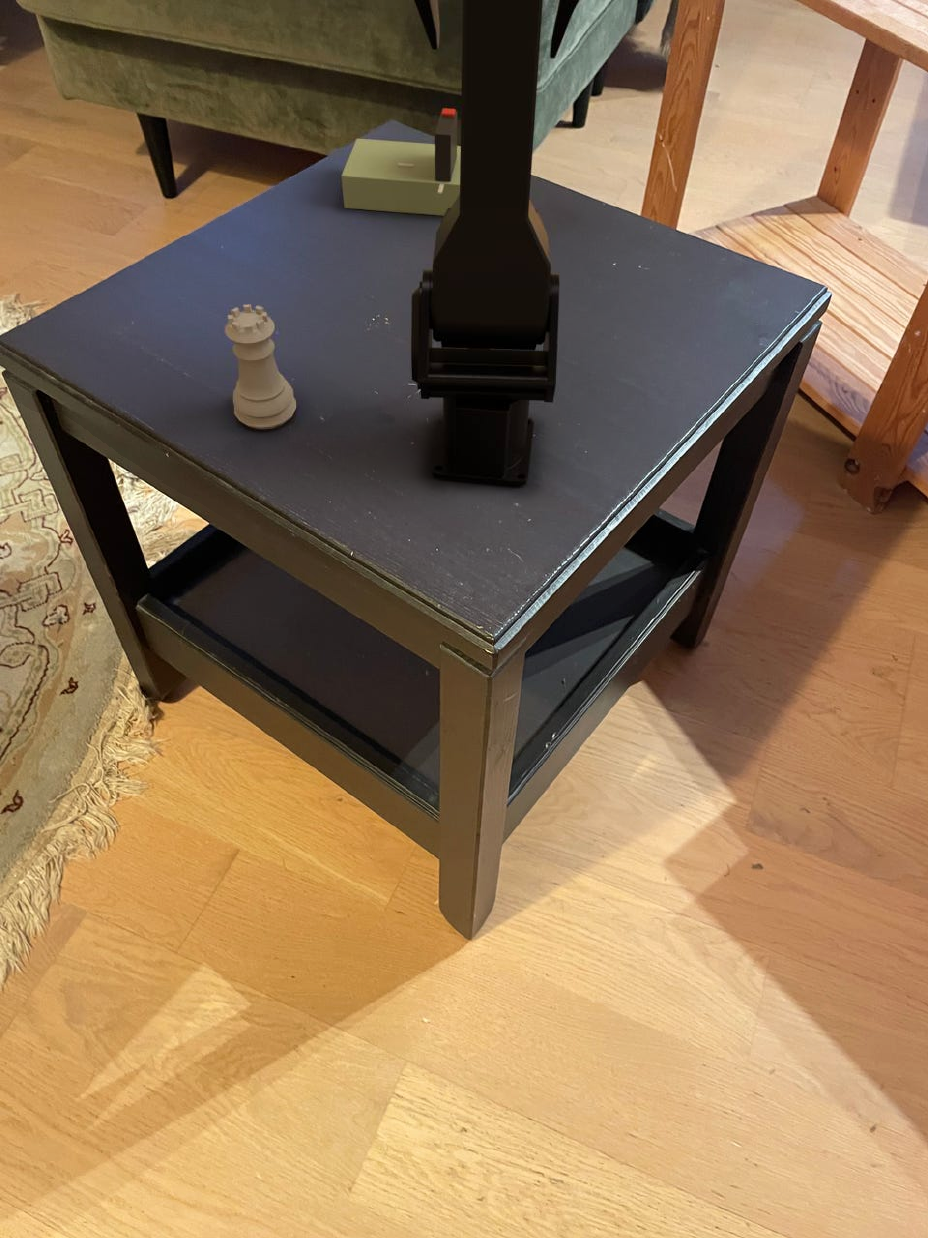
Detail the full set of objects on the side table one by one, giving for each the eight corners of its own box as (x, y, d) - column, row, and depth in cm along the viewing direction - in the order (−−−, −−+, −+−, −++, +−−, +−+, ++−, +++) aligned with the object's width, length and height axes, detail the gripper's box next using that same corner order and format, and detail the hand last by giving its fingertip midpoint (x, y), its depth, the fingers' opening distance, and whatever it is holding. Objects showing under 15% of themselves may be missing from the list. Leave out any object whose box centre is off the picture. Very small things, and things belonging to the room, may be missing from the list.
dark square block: (450, 181, 81) (451, 131, 78) (434, 180, 81) (434, 130, 78) (457, 156, 84) (457, 107, 80) (441, 155, 84) (441, 106, 80)
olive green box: (488, 230, 82) (489, 195, 79) (340, 218, 83) (336, 183, 80) (497, 180, 87) (499, 146, 85) (358, 170, 88) (356, 136, 86)
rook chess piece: (309, 413, 67) (295, 317, 60) (258, 441, 65) (238, 344, 58) (273, 384, 68) (255, 287, 62) (222, 410, 67) (199, 313, 60)
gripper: (650, -234, 64) (616, 19, 76) (384, -248, 65) (394, 3, 78) (648, -191, 57) (612, 78, 70) (352, -208, 59) (369, 60, 71)
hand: (494, 51), depth 72 cm, fingers open, 9 cm apart
